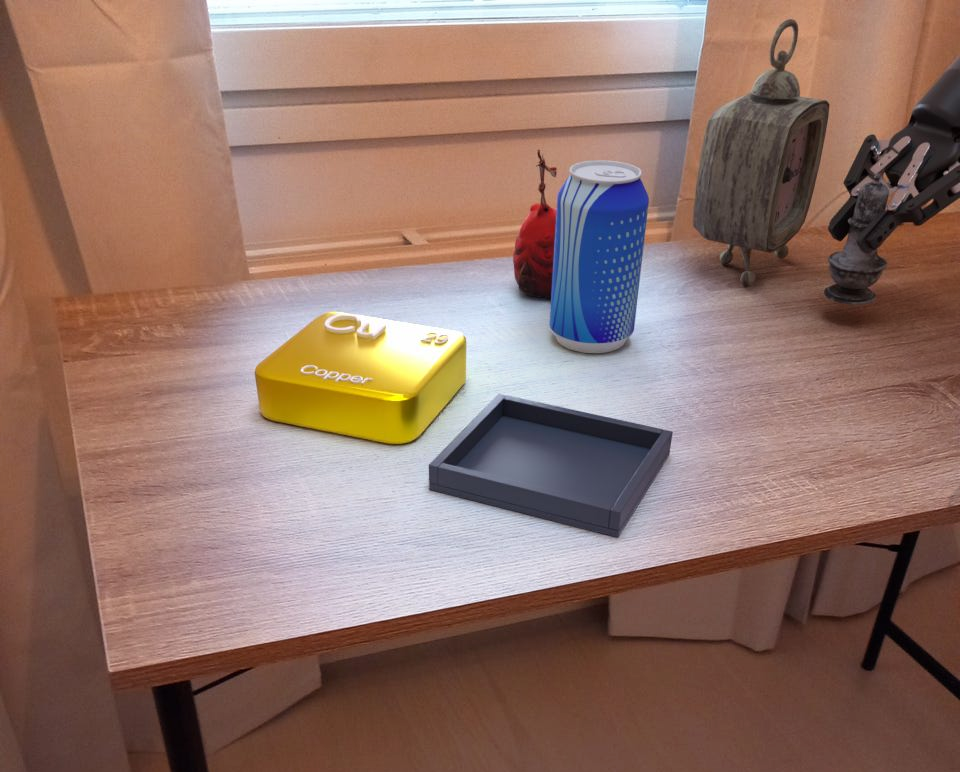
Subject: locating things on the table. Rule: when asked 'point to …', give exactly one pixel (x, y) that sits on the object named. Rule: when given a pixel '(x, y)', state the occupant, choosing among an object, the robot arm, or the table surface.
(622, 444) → the tray
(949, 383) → the table surface
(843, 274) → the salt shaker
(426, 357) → the element tile
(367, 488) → the table surface
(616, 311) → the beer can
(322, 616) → the table surface
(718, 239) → the tabletop clock
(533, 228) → the red rounded tall piece
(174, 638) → the table surface
